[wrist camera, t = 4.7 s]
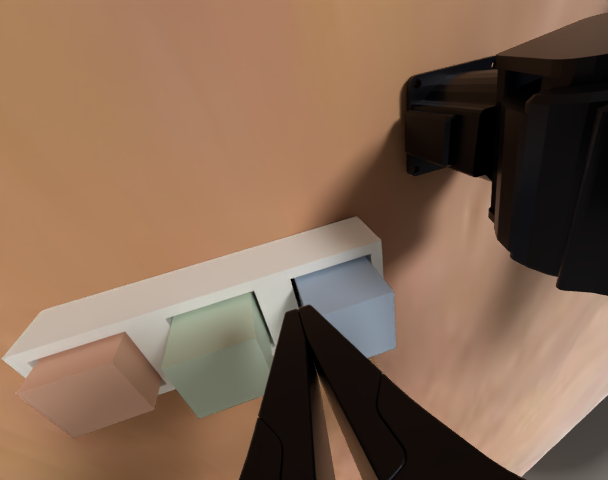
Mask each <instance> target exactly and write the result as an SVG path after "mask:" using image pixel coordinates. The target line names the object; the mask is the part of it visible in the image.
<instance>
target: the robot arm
mask: <svg viewBox="0 0 608 480" xmlns="http://www.w3.org/2000/svg"><path fill="white" fill-rule="evenodd" d="M492 63H493V67H491V65H492ZM416 80H417V83H418V84H417V87H416V88H414V82H415V81H416ZM405 151H406V152H407V172H408V173H409V174H410V175H412V176H418V175H421V174H425V173H428V172H431V171H435V170H438V169H442V168H445V167H447V168H450V169H453V170H456V171H458V172H461V173H464V174H467V175H469V176H472V177H480V178H482V179H485V180H488V181H491V182H492V194H491V207H490V208H489V214H488V217H489V218H490V219H491V221H492V222H493V223H494V230H495V233H496V237H497V240H498V241H499V242H500V243H501V244H502V245H503V246H504V247H505V248H506V249H507V250H508V251H509V252H510V257H511V258H512V259H513V260H515V261H517V262H518V263H520V264H522V265H524V266H526V267H528V268H530V269H533V270H536V271H539V272H542V273H545V274H547V275H552V276H556V277H558V279H557V283H556V287H557V288H558V289H560V290H564V291H577V292H591V293H597V294H602V295H607V296H608V13H604V14H600V15H596V16H592V17H588V18H585V19H582V20H580V21H577V22H575V23H572V24H570V25H567V26H565V27H562V28H560V29H558V30H555V31H553V32H550V33H548V34H545V35H543V36H540V37H538V38H535V39H533V40H530V41H528V42H525V43H523V44H520V45H518V46H516V47H513V48H511V49H508V50H506V51H503V52H501V53H498V54H496V56H490V57H486V58H482V59H478V60H474V61H470V62H466V63H462V64H458V65H453V66H449V67H445V68H441V69H437V70H433V71H429V72H425V73H421V74H417V75H413V76H411V77H410V78H409V80H408V82H407V113H406V115H405ZM415 166H416V169H415V171H413V168H414V167H415ZM315 367H316V368H315ZM316 370H317V371H316ZM317 373H318V375H317ZM318 376H319V379H320V381H321V384H322V386H323V388H324V391H325V393H326V395H327V398H328V400H329V402H330V405H331V407H332V409H333V412H334V414H335V416H336V419H337V421H338V423H339V426H340V428H341V430H342V433H343V435H344V437H345V440H346V442H347V444H348V447H349V449H350V451H351V454H352V456H353V458H354V461H355V463H356V465H357V468H358V470H359V472H360V475H361V477H362V479H363V480H526V479H524V478H522V477H520V476H518V475H516V474H514V473H512V472H510V471H509V470H507V469H505V468H504V467H502V466H500V465H499V464H497V463H496V462H494V461H493V460H491V459H490V458H488V457H487V456H486V455H484V454H483V453H482V452H480V451H479V450H478V449H476V448H475V447H474V446H472V445H471V444H470V443H468V442H467V441H466V440H464V439H463V438H462V437H460V436H459V435H458V434H456V433H455V432H454V431H452V430H451V429H450V428H448V427H447V426H446V425H444V424H443V423H442V422H441V421H439V420H438V419H437V418H435V417H434V416H433V415H431V414H430V413H429V412H427V411H426V410H425V409H424V408H422V407H421V406H420V405H419V404H417V403H416V402H415V401H414V400H412V399H411V398H410V397H409V396H408V395H407V394H405V393H404V392H403V391H402V390H401V389H400V388H399V387H398V386H396V385H395V384H394V383H393V382H392V381H391V380H390V379H389V378H388V377H387V376H386V375H385V374H382V372H381V371H380V370H379V369H378V368H377V367H376V366H375V365H374V364H373V363H372V362H371V361H370V360H369V359H368V358H367V357H366V356H364V355H363V354H362V353H361V352H360V351H359V350H358V349H357V348H356V347H355V346H354V345H353V344H352V343H351V342H350V341H349V340H348V339H346V338H345V337H344V336H343V335H342V334H341V333H340V332H339V331H338V330H337V329H336V328H335V327H334V326H333V325H332V324H331V323H330V322H329V321H327V320H326V319H325V318H324V317H323V316H322V315H321V314H320V313H319V312H318V311H317V310H316V309H315V308H314V307H313V306H312V305H310V304H308V305H305V306H302V307H299V309H293V310H289V311H287V312H285V315H284V319H283V322H282V326H281V330H280V334H279V338H278V342H277V345H276V349H275V353H274V357H273V361H272V365H271V368H270V372H269V376H268V380H267V384H266V388H265V391H264V395H263V399H262V403H261V407H260V411H259V414H258V416H259V418H257V422H256V425H255V429H254V433H253V437H252V440H251V444H250V447H249V450H248V454H247V457H246V460H245V463H244V466H243V469H242V472H241V475H240V478H239V480H335V475H334V469H333V463H332V457H331V451H330V445H329V439H328V433H327V427H326V421H325V415H324V409H323V403H322V397H321V391H320V385H319V380H318Z"/></svg>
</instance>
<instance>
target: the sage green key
mask: <svg viewBox="0 0 608 480" xmlns="http://www.w3.org/2000/svg"><path fill="white" fill-rule="evenodd" d="M272 361H273V355H272V349H271V344H270V338H269V332H268V328H267V326H266V323H265V321H264V318H263V316H262V313H261V311H260V308H259V305H258V303H257V300H256V298H255V295H254V293H253V291H252V292H248V293H245V294H242V295H239V296H236V297H233V298H229V299H226V300H223V301H220V302H217V303H214V304H210V305H207V306H204V307H201V308H198V309H195V310H191V311H188V312H185V313H182V314H179V315H176V316H173V319H172V324H171V328H170V332H169V337H168V341H167V345H166V350H165V354H164V358H163V362H162V367H161V371H162V372H163V373H164V374H165V376H166V377H167V378H168V380H169V381H170V382H171V383H172V385H173V386H174V387H175V389H176V390H177V391H178V392H179V394H180V395H181V396H182V398H183V399H184V400H185V402H186V403H187V404H188V405H189V407H190V408H191V409H192V411H193V412H194V413H195V414H196V416H197V417H198V418H199V419H200V418H203V417H205V416H208V415H211V414H214V413H217V412H219V411H222V410H225V409H228V408H230V407H233V406H236V405H239V404H242V403H244V402H247V401H250V400H253V399H255V398H258V397H261V396H263V395H264V391H265V388H266V384H267V380H268V376H269V372H270V368H271V365H272Z"/></svg>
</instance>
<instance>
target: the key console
mask: <svg viewBox="0 0 608 480" xmlns="http://www.w3.org/2000/svg"><path fill="white" fill-rule="evenodd" d="M362 256H365V257H366V258H367V259H368V260H369V262H370V263H371V264H372V265H373V267H374V268H375V269H376V270H377V271H378V273H379V274H380V275H381V276H382V278H383V279H384V275H383V259H382V242H381V239H380V238H379V237H378V236H377V235H376V234H375V233H374V232H373V231H372V230H371V229H370V228H369V227H367V226H366V225H365V224H364V223H363V222H362V221H361V220H360V219H359V218H358V217H357V216H355V217H352V218H348V219H345V220H342V221H338V222H335V223H332V224H328V225H325V226H322V227H318V228H315V229H312V230H308V231H305V232H302V233H298V234H295V235H292V236H288V237H285V238H282V239H278V240H275V241H272V242H268V243H265V244H261V245H258V246H255V247H251V248H248V249H245V250H241V251H238V252H235V253H231V254H228V255H225V256H221V257H218V258H215V259H211V260H208V261H205V262H201V263H198V264H195V265H191V266H188V267H185V268H181V269H178V270H175V271H171V272H168V273H164V274H161V275H158V276H154V277H151V278H148V279H144V280H141V281H138V282H134V283H131V284H128V285H124V286H121V287H118V288H114V289H111V290H108V291H104V292H101V293H98V294H94V295H91V296H88V297H84V298H81V299H77V300H74V301H71V302H67V303H64V304H61V305H57V306H54V307H51V308H47V309H44V310H42V311H41V312H40V313H39V314H38V315H37V317H36V318H35V319H34V320H33V321H32V323H31V324H30V325H29V326H28V328H27V329H26V330H25V331H24V332H23V334H22V335H21V336H20V337H19V338H18V340H17V341H16V342H15V343H14V344H13V346H12V347H11V348H10V349H9V350H8V352H7V353H6V354H5V355H4V356H3V358H2V360H4V361H5V362H6V363H7V364H9V365H10V366H11V367H12V368H14V369H15V370H16V371H17V372H19V373H20V374H21V375H22V376H23V377H25V378H26V377H27V376H28V375H29V373H30V372H31V370H32V369H33V367H34V366H35V364H36V363H37V362H38V360H39V359H40V358H43V357H46V356H49V355H52V354H56V353H59V352H62V351H65V350H68V349H71V348H75V347H78V346H81V345H84V344H87V343H90V342H94V341H97V340H100V339H103V338H106V337H109V336H112V335H116V334H119V333H122V332H126V333H127V334H128V336H129V337H130V338H131V340H132V341H133V342H134V343H135V345H136V346H137V347H138V348H139V350H140V351H141V352H142V353H143V355H144V356H145V357H146V358H147V360H148V361H149V362H150V364H151V365H152V366H153V367H154V369H155V370H156V371H157V372H158V374H159V375H160V376H161V377H162V379H161V384H160V388H159V393H158V395H160V394H163V393H166V392H169V391H172V390H175V387H174V386H173V385H172V383H171V382H170V381H169V380H168V378H167V377H166V376H165V374H164V373H163V372H162V371H161V367H162V362H163V358H164V354H165V350H166V345H167V341H168V337H169V332H170V328H171V324H172V319H173V316H176V315H179V314H182V313H185V312H188V311H191V310H195V309H198V308H201V307H204V306H207V305H210V304H214V303H217V302H220V301H223V300H226V299H229V298H233V297H236V296H239V295H242V294H245V293H248V292H252V291H254V292H255V295H256V297H257V300H258V302H259V305H260V307H261V310H262V312H261V313H262V316H263V318H264V321H265V323H266V326H267V328H268V332H269V338H270V344H271V349H272V355H274V353H275V349H276V345H277V342H278V338H279V334H280V330H281V326H282V322H283V319H284V315H285V312H287V311H289V310H293V309H299V307H302V306H301V302H300V300H298V301H296V297H295V294H294V290H293V287H292V284H291V280H290V279H293V278H296V277H299V276H302V275H305V274H308V273H312V272H315V271H318V270H321V269H324V268H327V267H331V266H334V265H337V264H340V263H343V262H346V261H349V260H353V259H356V258H359V257H362Z"/></svg>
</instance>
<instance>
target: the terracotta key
mask: <svg viewBox="0 0 608 480" xmlns="http://www.w3.org/2000/svg"><path fill="white" fill-rule="evenodd" d="M161 379H162V377H161V376H160V375H159V374H158V372H157V371H156V370H155V369H154V367H153V366H152V365H151V364H150V362H149V361H148V360H147V358H146V357H145V356H144V355H143V353H142V352H141V351H140V350H139V348H138V347H137V346H136V345H135V343H134V342H133V341H132V340H131V338H130V337H129V336H128V334H127V333H126V332H122V333H119V334H116V335H112V336H109V337H106V338H103V339H100V340H97V341H94V342H90V343H87V344H84V345H81V346H78V347H75V348H71V349H68V350H65V351H62V352H59V353H56V354H52V355H49V356H46V357H43V358H40V359H39V360H38V362H37V363H36V364H35V366H34V367H33V369H32V370H31V372H30V373H29V375H28V376H27V377H26V379H25V380H24V382H23V383H22V385H21V386H20V388H19V389H18V391H17V392H16V393H15V395H17V396H18V397H19V398H21V399H22V400H23V401H25V402H26V403H27V404H29V405H30V406H31V407H33V408H34V409H35V410H37V411H38V412H39V413H41V414H42V415H43V416H45V417H46V418H47V419H49V420H50V421H51V422H53V423H54V424H55V425H57V426H58V427H59V428H61V429H62V430H63V431H65V432H66V433H67V434H69V435H70V436H71V437H73V438H76V437H78V436H81V435H84V434H87V433H90V432H93V431H96V430H98V429H101V428H104V427H107V426H110V425H113V424H116V423H118V422H121V421H124V420H127V419H130V418H133V417H136V416H138V415H141V414H144V413H147V412H150V411H153V410H155V406H156V402H157V397H158V393H159V388H160V384H161Z"/></svg>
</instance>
